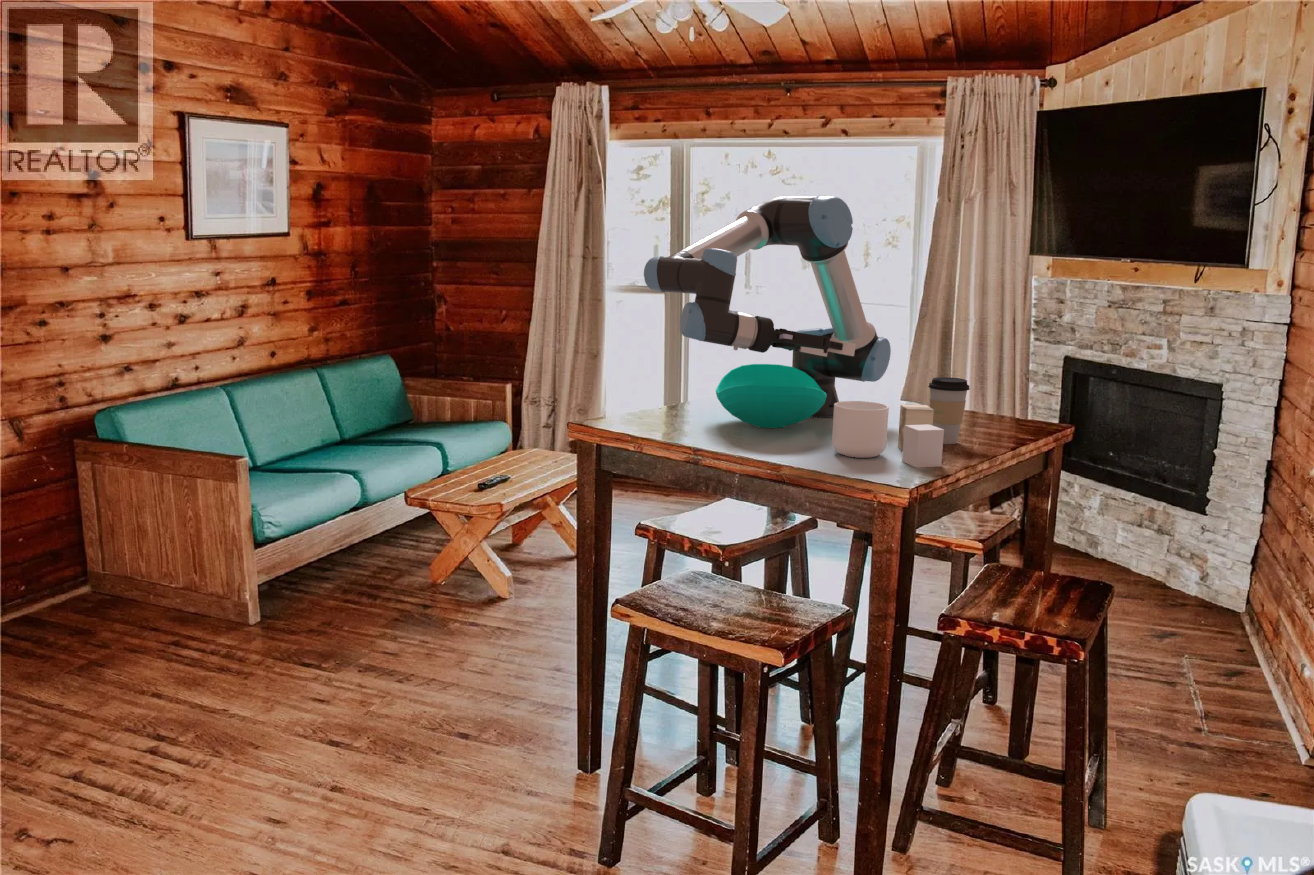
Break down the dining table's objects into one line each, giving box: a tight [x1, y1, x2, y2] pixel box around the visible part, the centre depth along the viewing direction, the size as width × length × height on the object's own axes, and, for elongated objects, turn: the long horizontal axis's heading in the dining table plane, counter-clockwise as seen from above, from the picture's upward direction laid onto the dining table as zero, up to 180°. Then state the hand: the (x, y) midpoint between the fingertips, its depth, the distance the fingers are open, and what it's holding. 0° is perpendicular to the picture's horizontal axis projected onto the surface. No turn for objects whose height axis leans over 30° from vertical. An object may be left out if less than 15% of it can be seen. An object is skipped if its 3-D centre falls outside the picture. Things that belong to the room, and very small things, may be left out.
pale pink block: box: [901, 424, 944, 468], centre depth 222 cm, size 6×6×8 cm
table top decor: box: [715, 363, 827, 429], centre depth 261 cm, size 40×28×13 cm
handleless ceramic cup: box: [831, 400, 890, 459], centre depth 230 cm, size 12×12×11 cm
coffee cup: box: [928, 376, 971, 445], centre depth 246 cm, size 9×9×15 cm
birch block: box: [897, 404, 934, 452], centre depth 236 cm, size 6×6×10 cm
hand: (840, 350), depth 228 cm, fingers open, 13 cm apart
